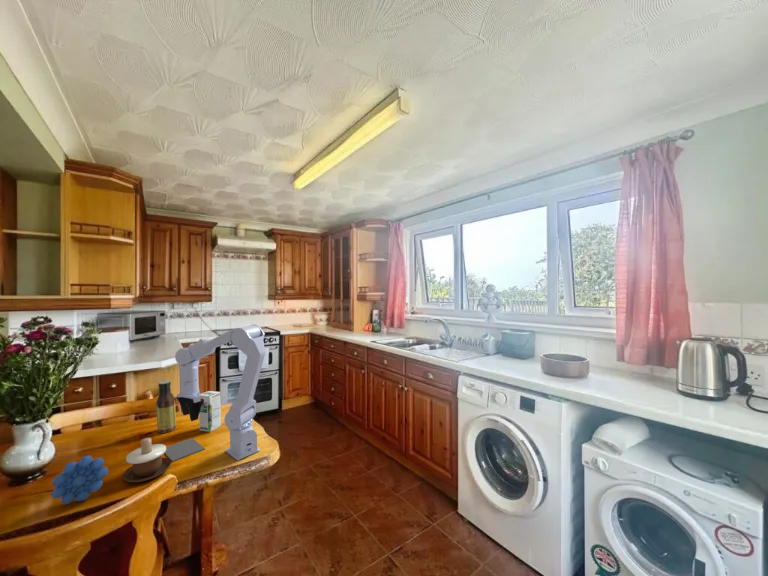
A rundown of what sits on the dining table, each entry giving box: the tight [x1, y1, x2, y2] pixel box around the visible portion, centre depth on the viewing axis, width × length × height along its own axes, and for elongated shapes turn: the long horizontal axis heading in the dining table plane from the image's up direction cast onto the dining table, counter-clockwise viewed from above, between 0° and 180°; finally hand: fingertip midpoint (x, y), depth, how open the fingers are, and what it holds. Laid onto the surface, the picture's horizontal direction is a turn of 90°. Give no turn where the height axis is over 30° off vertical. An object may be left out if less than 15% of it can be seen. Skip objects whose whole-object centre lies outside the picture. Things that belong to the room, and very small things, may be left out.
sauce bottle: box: [155, 380, 177, 434], centre depth 128 cm, size 6×6×20 cm
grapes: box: [51, 455, 109, 505], centre depth 88 cm, size 12×7×12 cm, turn 119°
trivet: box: [164, 437, 206, 463], centre depth 113 cm, size 12×10×1 cm
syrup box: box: [198, 390, 222, 433], centre depth 129 cm, size 6×6×14 cm
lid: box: [125, 437, 167, 465], centre depth 99 cm, size 10×10×5 cm
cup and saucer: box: [122, 455, 172, 483], centre depth 99 cm, size 12×12×6 cm
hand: (190, 417), depth 116 cm, fingers open, 7 cm apart
